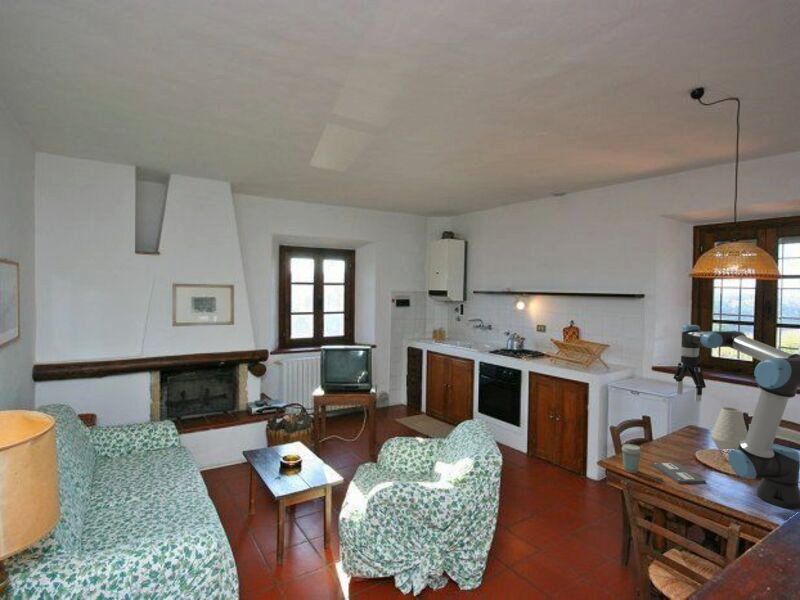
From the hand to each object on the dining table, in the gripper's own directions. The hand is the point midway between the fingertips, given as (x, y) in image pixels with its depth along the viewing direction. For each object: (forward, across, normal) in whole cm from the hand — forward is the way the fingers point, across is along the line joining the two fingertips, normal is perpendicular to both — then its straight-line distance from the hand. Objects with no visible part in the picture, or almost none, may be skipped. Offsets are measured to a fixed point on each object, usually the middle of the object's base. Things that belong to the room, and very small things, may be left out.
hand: (688, 397), depth 224 cm
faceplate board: (+35, -10, +11) cm, 38 cm away
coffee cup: (+35, -6, +32) cm, 48 cm away
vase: (+35, +19, -38) cm, 55 cm away
